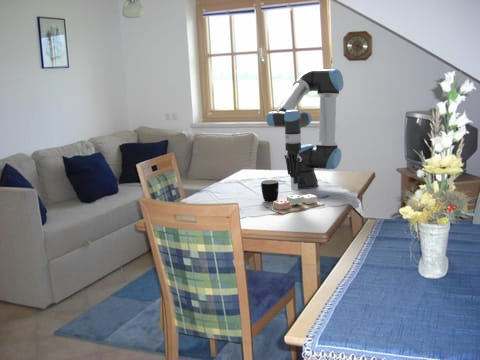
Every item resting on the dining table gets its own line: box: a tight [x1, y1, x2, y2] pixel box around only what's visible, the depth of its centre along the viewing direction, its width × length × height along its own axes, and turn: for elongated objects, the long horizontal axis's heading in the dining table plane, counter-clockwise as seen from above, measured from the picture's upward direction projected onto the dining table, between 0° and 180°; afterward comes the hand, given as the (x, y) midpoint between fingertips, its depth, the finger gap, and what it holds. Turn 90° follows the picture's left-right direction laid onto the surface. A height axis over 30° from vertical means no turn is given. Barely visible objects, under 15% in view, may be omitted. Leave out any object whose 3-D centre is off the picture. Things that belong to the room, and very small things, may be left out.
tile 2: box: [286, 194, 304, 205], centre depth 278 cm, size 6×6×3 cm
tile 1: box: [302, 193, 318, 204], centre depth 282 cm, size 6×6×3 cm
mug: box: [260, 179, 279, 203], centre depth 292 cm, size 12×9×10 cm
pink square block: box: [272, 198, 290, 210], centre depth 274 cm, size 6×6×3 cm
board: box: [267, 200, 325, 215], centre depth 279 cm, size 25×14×1 cm, turn 118°
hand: (294, 189), depth 276 cm, fingers closed
